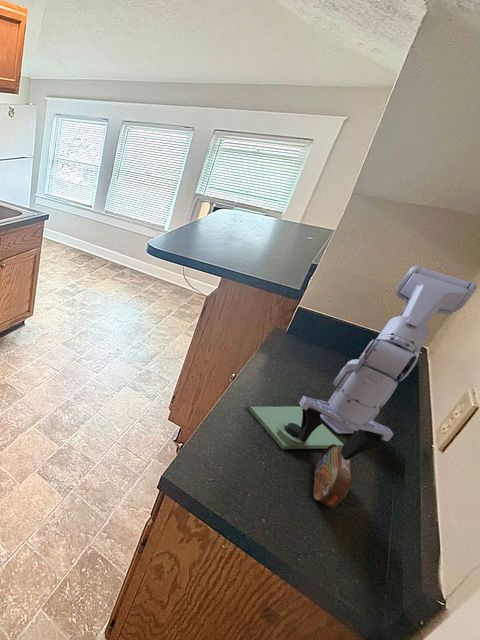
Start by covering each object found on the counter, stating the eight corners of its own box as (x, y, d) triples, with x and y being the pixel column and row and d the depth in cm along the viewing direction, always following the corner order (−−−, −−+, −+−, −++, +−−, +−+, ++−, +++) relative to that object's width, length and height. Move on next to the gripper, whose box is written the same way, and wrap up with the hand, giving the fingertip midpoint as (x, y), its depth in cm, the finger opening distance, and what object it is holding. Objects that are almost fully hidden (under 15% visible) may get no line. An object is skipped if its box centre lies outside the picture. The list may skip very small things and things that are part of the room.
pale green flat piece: (302, 409, 102) (307, 401, 100) (343, 449, 91) (349, 441, 90) (248, 409, 100) (253, 401, 98) (283, 451, 89) (289, 442, 88)
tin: (315, 460, 88) (334, 435, 84) (332, 468, 86) (352, 443, 82) (312, 507, 77) (333, 482, 73) (331, 518, 75) (353, 492, 71)
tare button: (293, 427, 92) (296, 422, 91) (303, 437, 90) (306, 432, 89) (282, 427, 92) (285, 422, 91) (291, 438, 89) (295, 433, 88)
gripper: (321, 392, 72) (286, 443, 78) (416, 427, 68) (372, 479, 73) (311, 373, 78) (280, 422, 84) (398, 404, 74) (358, 454, 79)
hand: (322, 447), depth 79 cm, fingers open, 7 cm apart
